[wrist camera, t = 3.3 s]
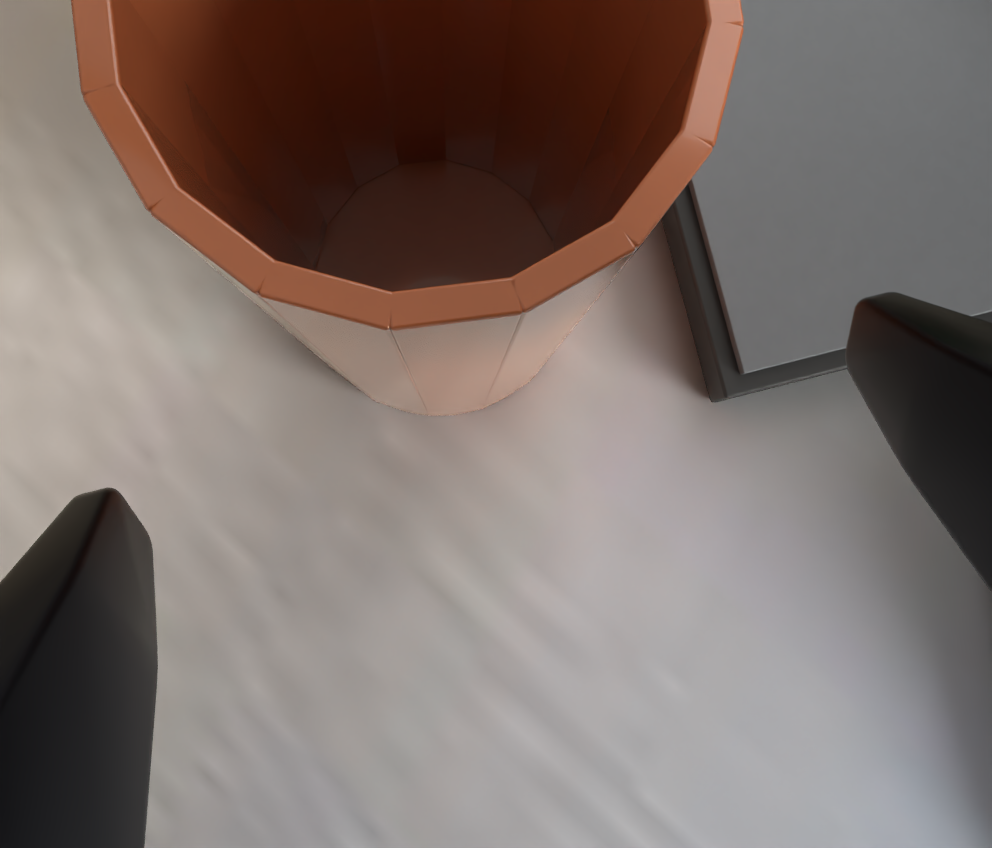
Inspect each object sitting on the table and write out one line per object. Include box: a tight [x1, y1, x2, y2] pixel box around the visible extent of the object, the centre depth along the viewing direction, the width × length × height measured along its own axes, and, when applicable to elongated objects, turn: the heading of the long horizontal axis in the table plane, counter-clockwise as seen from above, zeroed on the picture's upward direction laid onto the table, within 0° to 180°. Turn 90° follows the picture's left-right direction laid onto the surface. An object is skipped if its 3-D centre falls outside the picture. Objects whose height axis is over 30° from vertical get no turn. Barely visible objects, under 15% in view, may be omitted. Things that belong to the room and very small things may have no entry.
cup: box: [71, 0, 744, 416], centre depth 14 cm, size 7×7×12 cm
